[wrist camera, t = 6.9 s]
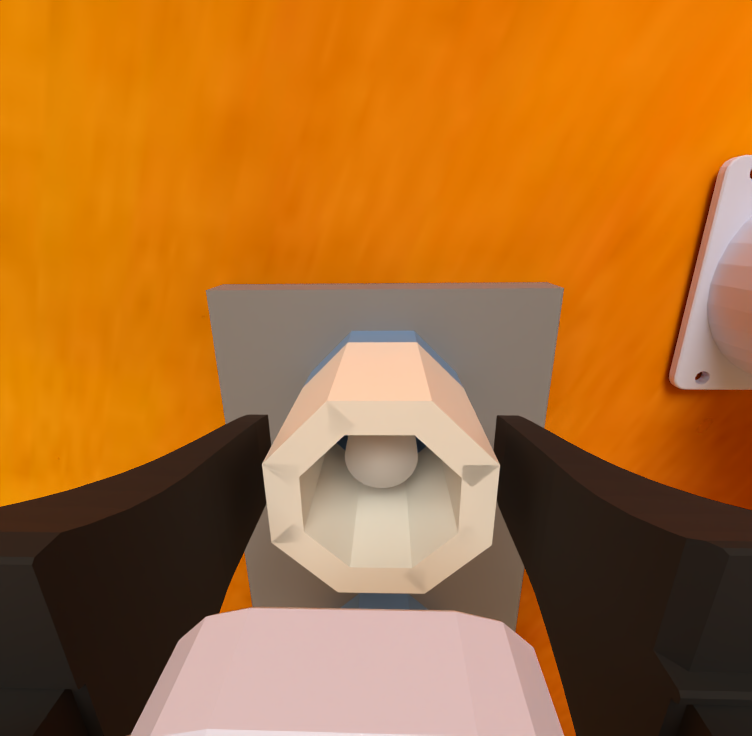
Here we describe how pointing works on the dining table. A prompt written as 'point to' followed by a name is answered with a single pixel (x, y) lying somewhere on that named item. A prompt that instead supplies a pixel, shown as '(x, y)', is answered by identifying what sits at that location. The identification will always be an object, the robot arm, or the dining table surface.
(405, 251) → the dining table surface
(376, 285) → the pin board
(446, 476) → the sleeve
